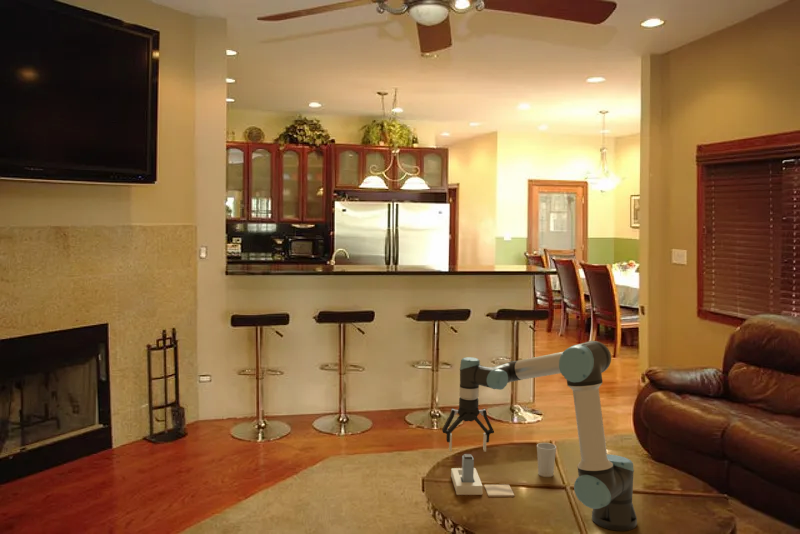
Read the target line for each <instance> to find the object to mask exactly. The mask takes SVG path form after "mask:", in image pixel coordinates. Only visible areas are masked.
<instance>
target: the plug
mask: <svg viewBox="0 0 800 534" xmlns="http://www.w3.org/2000/svg"><path fill="white" fill-rule="evenodd" d="M474 461H475V459H474V457H473V455H472V453H471V454H470V453H464V454H463V455H462V456H461V468H462V482H473V474H474V468H475V467H474V465H475V463H474Z"/></svg>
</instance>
